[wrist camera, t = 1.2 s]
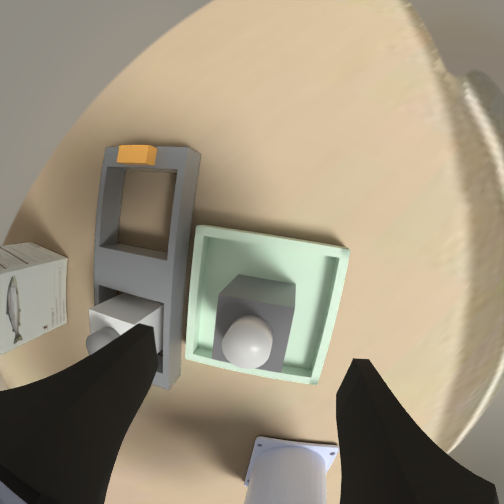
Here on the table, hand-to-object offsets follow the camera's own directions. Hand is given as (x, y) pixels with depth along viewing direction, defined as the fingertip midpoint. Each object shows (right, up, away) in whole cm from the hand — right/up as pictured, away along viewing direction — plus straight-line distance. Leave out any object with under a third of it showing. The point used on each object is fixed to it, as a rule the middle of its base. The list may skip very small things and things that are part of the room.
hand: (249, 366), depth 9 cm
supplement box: (-21, +1, +14) cm, 26 cm away
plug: (+1, 0, +10) cm, 10 cm away
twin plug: (-9, -2, +12) cm, 15 cm away
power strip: (-8, +3, +12) cm, 15 cm away
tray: (+1, 0, +11) cm, 11 cm away
